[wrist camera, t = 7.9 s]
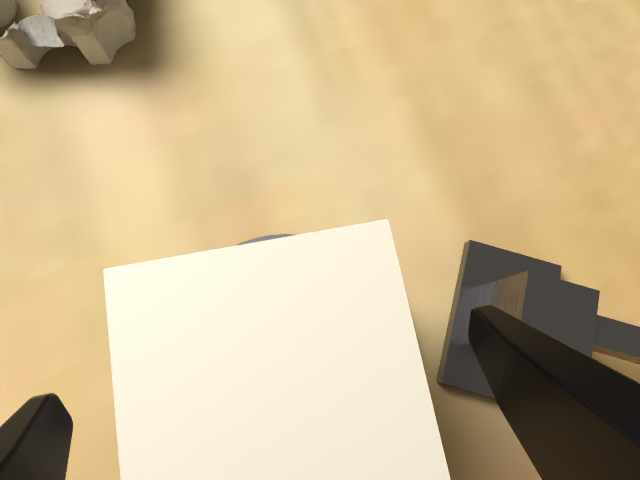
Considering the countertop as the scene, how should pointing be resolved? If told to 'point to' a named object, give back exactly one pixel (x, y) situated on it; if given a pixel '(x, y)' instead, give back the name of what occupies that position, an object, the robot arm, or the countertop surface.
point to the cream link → (271, 363)
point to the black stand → (526, 312)
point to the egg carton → (66, 30)
